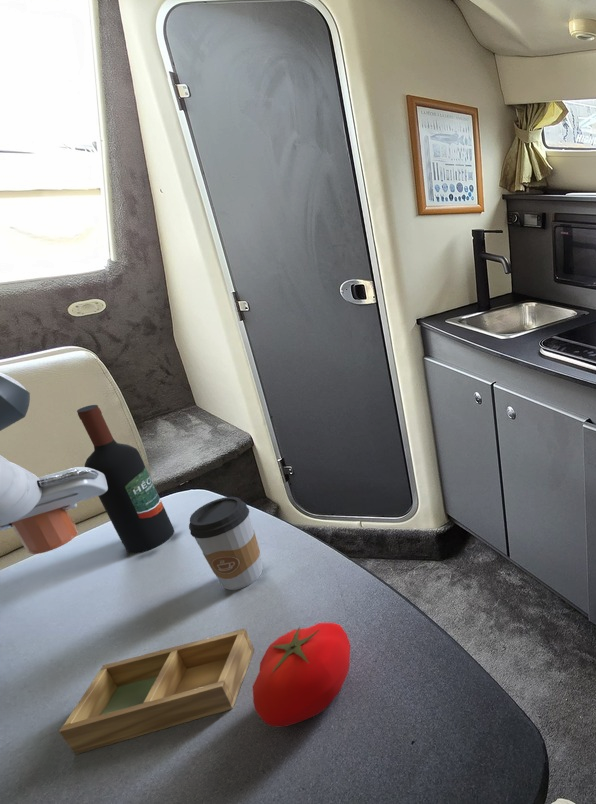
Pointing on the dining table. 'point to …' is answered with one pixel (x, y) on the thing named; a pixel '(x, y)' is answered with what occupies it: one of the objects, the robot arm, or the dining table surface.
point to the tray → (159, 691)
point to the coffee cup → (228, 541)
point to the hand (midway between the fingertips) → (39, 514)
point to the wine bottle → (126, 487)
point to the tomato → (301, 674)
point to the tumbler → (45, 530)
